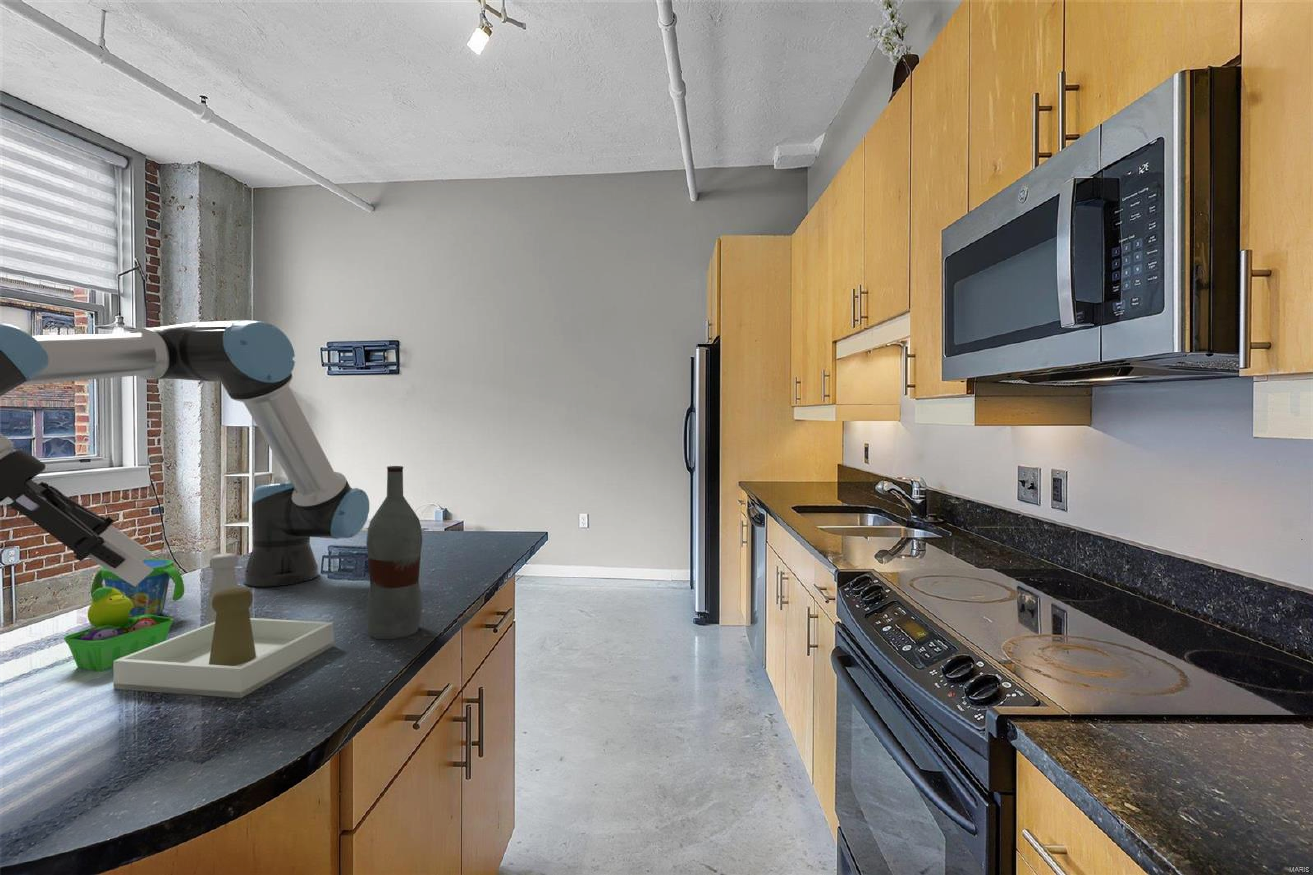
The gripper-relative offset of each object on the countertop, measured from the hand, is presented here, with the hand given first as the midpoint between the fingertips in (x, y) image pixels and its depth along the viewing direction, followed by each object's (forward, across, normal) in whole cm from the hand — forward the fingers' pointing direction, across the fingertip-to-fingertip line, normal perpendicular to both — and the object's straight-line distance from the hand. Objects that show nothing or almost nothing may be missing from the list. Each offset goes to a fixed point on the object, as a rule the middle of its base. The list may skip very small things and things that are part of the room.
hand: (144, 568), depth 87 cm
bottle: (+36, 0, +12) cm, 38 cm away
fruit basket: (+10, -15, -14) cm, 23 cm away
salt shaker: (+20, -24, -4) cm, 31 cm away
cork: (+19, 0, -4) cm, 19 cm away
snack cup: (+11, -39, -12) cm, 42 cm away
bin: (+19, 0, -4) cm, 20 cm away
